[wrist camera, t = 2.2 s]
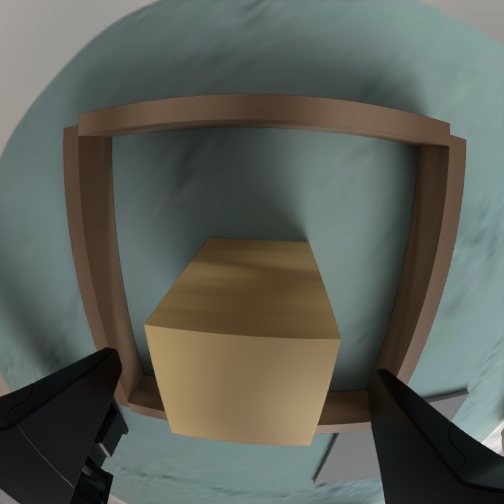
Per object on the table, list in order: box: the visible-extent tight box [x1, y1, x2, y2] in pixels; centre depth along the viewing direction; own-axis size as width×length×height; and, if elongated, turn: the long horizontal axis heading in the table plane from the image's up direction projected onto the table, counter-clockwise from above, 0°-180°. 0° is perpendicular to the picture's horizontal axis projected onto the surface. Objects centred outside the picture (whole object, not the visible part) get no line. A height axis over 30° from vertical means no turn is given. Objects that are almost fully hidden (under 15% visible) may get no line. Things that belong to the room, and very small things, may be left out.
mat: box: [314, 390, 469, 484], centre depth 19 cm, size 12×14×1 cm
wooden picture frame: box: [63, 94, 466, 434], centre depth 14 cm, size 18×18×3 cm
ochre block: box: [144, 238, 341, 445], centre depth 11 cm, size 5×5×8 cm
